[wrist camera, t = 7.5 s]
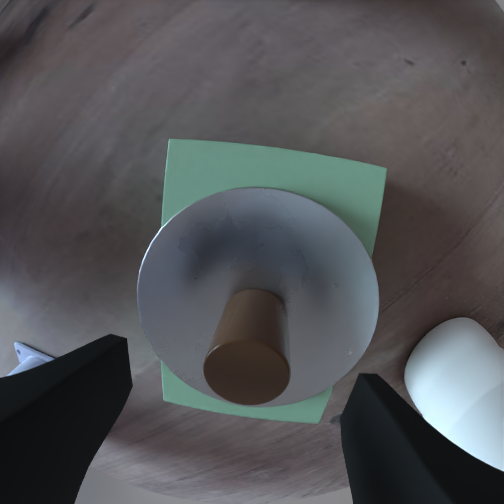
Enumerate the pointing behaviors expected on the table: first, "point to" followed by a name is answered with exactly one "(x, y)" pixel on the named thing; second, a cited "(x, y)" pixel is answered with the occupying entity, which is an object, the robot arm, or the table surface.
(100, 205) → the table surface
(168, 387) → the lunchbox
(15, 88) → the table surface
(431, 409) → the water bottle
